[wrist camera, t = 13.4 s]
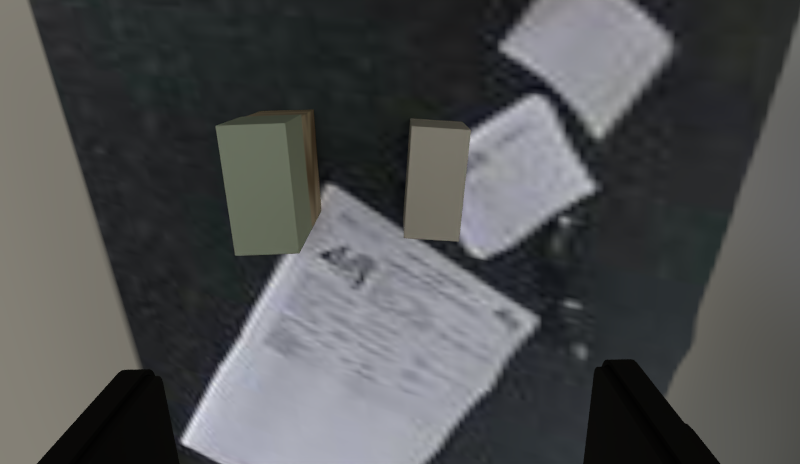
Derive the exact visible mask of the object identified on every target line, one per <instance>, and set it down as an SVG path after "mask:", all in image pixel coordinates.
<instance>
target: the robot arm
mask: <svg viewBox="0 0 800 464" xmlns="http://www.w3.org/2000/svg"><path fill="white" fill-rule="evenodd" d="M37 464H179V459H178V454H177V449H176V444H175V439H174V434H173V430H172V425H171V420H170V415H169V410H168V405H167V400H166V395H165V390H164V385H163V381H162V379H161V377H159V376H155V374H154V372H153V371H152V370H150V369H141V370H122V371H120V372H119V373H118V374H117V375H116V376H115V377H114V378H113V380H112V381H111V382H110V383H109V384H108V385H107V386H106V387H105V388H104V390H103V391H102V392H101V393H100V394H99V395H98V396H97V397H96V398H95V400H94V401H93V402H92V403H91V404H90V405H89V406H88V407H87V408H86V410H85V411H84V412H83V413H82V414H81V415H80V416H79V417H78V418H77V420H76V421H75V422H74V423H73V424H72V425H71V426H70V427H69V429H68V430H67V431H66V432H65V433H64V434H63V435H62V436H61V437H60V439H59V440H58V441H57V442H56V443H55V444H54V445H53V446H52V447H51V449H50V450H49V451H48V452H47V453H46V454H45V455H44V457H42V459H41V460H40V461H39V462H38V463H37ZM583 464H720V463H719V462H718V460H717V459H716V458H715V457H714V455H713V454H712V453H711V451H710V450H709V449H708V448H707V446H706V445H705V444H704V443H703V442H702V440H701V439H700V438H699V436H698V435H697V434H696V433H695V431H694V430H693V429H692V428H691V427H690V426H689V425H688V424H685V423H684V422H683V421H682V420H681V418H680V417H679V416H678V414H677V413H676V412H675V411H674V409H673V408H672V407H671V406H670V404H669V403H668V402H667V400H666V399H665V398H664V397H663V395H662V394H661V393H660V392H659V390H658V389H657V388H656V386H655V385H654V384H653V383H652V381H651V380H650V379H649V378H648V376H647V375H646V374H645V373H644V371H643V370H642V369H641V367H640V366H639V365H638V364H637V362H635V361H634V360H632V359H621V360H605V361H604V362H603V364H602V367H596V369H595V371H594V378H593V386H592V395H591V403H590V412H589V420H588V429H587V437H586V445H585V454H584V462H583Z"/></svg>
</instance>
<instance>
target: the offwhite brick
mask: <svg viewBox="0 0 800 464" xmlns="http://www.w3.org/2000/svg"><path fill="white" fill-rule="evenodd" d="M470 133H471V130H470V129H469V128H468V127H467V126H466V125H465V124H464V123H463V122H457V121H441V120H426V119H411V118H410V128H409V142H408V157H407V171H406V186H405V200H404V215H403V226H404V238H410V239H427V240H444V241H459V235H460V226H461V217H462V207H463V198H464V189H465V180H466V170H467V161H468V152H469V142H470Z"/></svg>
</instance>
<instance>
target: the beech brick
mask: <svg viewBox="0 0 800 464" xmlns="http://www.w3.org/2000/svg"><path fill="white" fill-rule="evenodd" d="M299 114H301V119H302V130H303V140H304V150H305V160H306V171H307V181H308V191H309V201H310V211H311V222H312V228H313V226H314V224H315V222H316V220H317V218H318V216H319V214H320V212H321V199H320V186H319V173H318V161H317V148H316V135H315V123H314V110H280V111H260V112H257V113H254V114H251V115H249V116H273V115H299ZM246 117H247V116H246ZM311 230H312V229H311Z"/></svg>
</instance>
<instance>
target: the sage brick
mask: <svg viewBox="0 0 800 464" xmlns="http://www.w3.org/2000/svg"><path fill="white" fill-rule="evenodd" d="M216 132H217V139H218V145H219V152H220V158H221V165H222V172H223V178H224V185H225V191H226V198H227V205H228V211H229V218H230V224H231V231H232V237H233V244H234V251H235V256H239V255H267V254H296V253H300V251H301V249H302V247H303V245H304V243H305V241H306V239H307V237H308V235H309V233H310V231H311V229H312V222H311V211H310V201H309V191H308V181H307V171H306V160H305V150H304V140H303V130H302V119H301V114H299V115H273V116H247V117H239V118H236V119H233V120H231V121H228V122H225V123H222V124H219V125H216Z"/></svg>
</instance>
